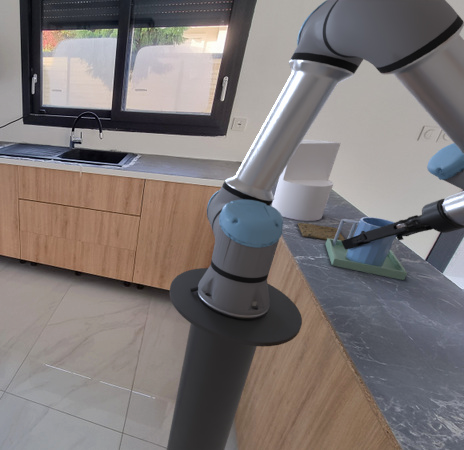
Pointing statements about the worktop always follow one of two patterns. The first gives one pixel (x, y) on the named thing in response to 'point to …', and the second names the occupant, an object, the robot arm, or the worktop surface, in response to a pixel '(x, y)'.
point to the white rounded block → (306, 181)
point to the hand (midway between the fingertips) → (356, 243)
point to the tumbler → (371, 243)
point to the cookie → (319, 231)
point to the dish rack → (339, 259)
